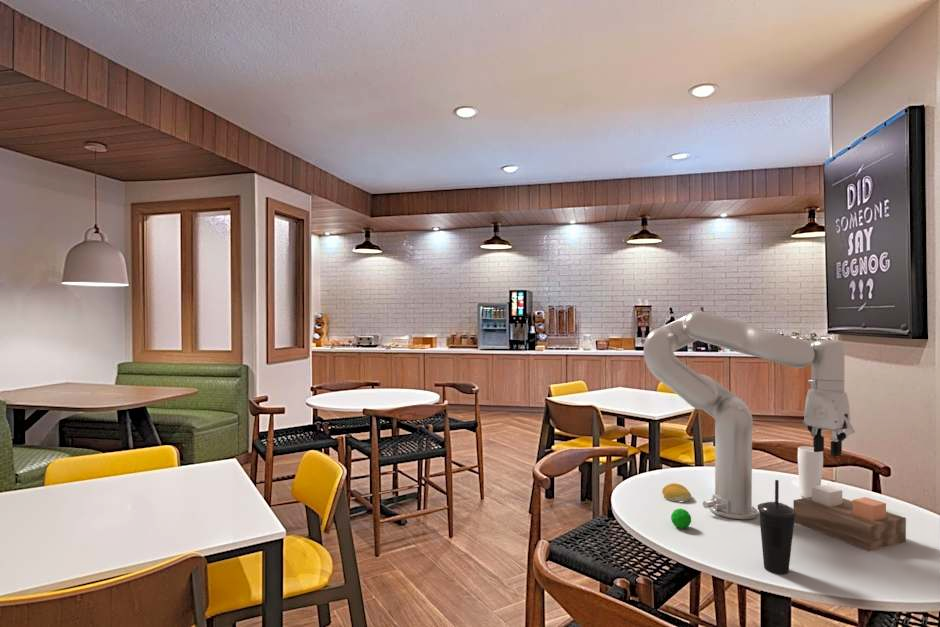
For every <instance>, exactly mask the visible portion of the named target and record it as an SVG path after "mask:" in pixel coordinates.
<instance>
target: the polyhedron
mask: <svg viewBox="0 0 940 627" xmlns="http://www.w3.org/2000/svg"><path fill="white" fill-rule="evenodd" d="M670 520H671V523H672V524H673V526H675V527H676V528H678V527H679V528H678V529H680V528H683V529H686V528H687V529H688V527H690V525H691V522H692V517H691V514H690V513H689V512H688V510H686V509H684V508H676V509H674V510H673V511H672V513H671V516H670Z"/></svg>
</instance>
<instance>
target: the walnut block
mask: <svg viewBox="0 0 940 627" xmlns="http://www.w3.org/2000/svg"><path fill="white" fill-rule="evenodd" d="M792 508H793V509H795V510H796V515H795V519H794V524H795V523H796V525H797V524H798V525H800V526H803V527H805V528H808V529H811V530H813V531H816V532H819V533H821V534H823V535H826V536H828V537H831V538H834V539H837V540H839V541H842V542H845V543H847V544H849V545H853V546H855V547H858V548H860V549H863V550H865V551H868V552H871V551H876V550H880V549H883V548H886V547H891V546H895V545H899V544H902V543H906V541H907V537H906V536H907V518H906V517H904V516H901V515H898V514H895V513H891V512H888V511H886V519H883V520H878V521H871V520H868V519H865V518H862V517H859V516H856V515H853V500H850V499H846V498H844V497H842V505H837V506H832V507H829V506H826V505H823V504H820V503H817V502H814V501H812V497H807V498H803V497H802V498H798V499H793V506H792Z"/></svg>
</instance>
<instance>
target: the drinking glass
mask: <svg viewBox="0 0 940 627" xmlns="http://www.w3.org/2000/svg"><path fill="white" fill-rule="evenodd" d="M797 468H798V480H799V483H798V484H799V496H801V497H802V498H807V497H812V487H815V486H821V485H822V478H823V477H822V476H823V471H824V451H821V452H814V447H813V446H806V445H805V446H803V445H801V446H798V447H797Z"/></svg>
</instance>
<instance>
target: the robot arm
mask: <svg viewBox="0 0 940 627" xmlns="http://www.w3.org/2000/svg"><path fill="white" fill-rule="evenodd" d="M697 341H699V342H701V343H705V344H709V345H713V346H716V347H721V348H723V349H726V350H730V351H734V352H737V353H740V354H743V355H746V356H747V355H749V356H753V357H756V358H760V359H762V360H766V361H771V362H773V363H777V364H780V365H784V366H787V367H791V368H795V369H803V368H806V367H808V366H810V365H811V379H808V381H807V382H808V384H809V385H810V387H811V388H809V389H808V390H807V394H806V397H805V403H804V404H805V406H804V418H803V419H802V421H801V423H802V425H803V426H805V427H806V429H807V430H808V432H810V435H811V437H812V438H813V441H812V442H813V444H812V445H813V446H812V447H814V452H821V451H823V452H824V450H825V437H824V436H823V431H824V430H828V431H831V436H832V439H833V440H832V441H830V455H831V457H840V456H841V455H842V451H843V449H842V448H843V445H842V444H843V443H842V442H843V441H845V439H846V438H847V437H849V436H851V435H854V434H855V433H856V430H855V429H854V427H853V425H852V424H851V411H850V404H849V403H850V402H849V398H848V393H847V392H845V370H846V369H845V357H846V356H845V351H846V350H845V348H846V347H845V346H846V345H845V344H844V342H843V341H841V340H836V339H835V340H834V339H833V340H832V339H817V340H810V339H802V338H794V337H789V336H786V335H783V334H779V333H775V332H772V331H768V330H765V329H762V328H760V327H757V326H756V325H753V324H749V323H747V322H743V321H740V320H736V319H732V318H728V317H725V316H720V315H718V314H712V313H709V312H707V311H703V310H694V311H691V312H689V313H687V314H686V315H683V316H682V317H680V318H677V319H675V320H674V321H672V322H668V323H667V324H664V325H663V326H661V327H660V326H659V327H658V328H655V329H653V330H651V331H650V332H649V333H648V335H647V336H646V338H645V341H644V345H643V358H644V359H643V360H644V362H645V365H646V367H647V369H648V370H649V373H651V374H652V375H653V376H654V377H655V378H656V379H657V380H658V381H659V382H661V383H662V384H663V385H664V386H666V387H667V388H669V389H670V391H672V392H673V393H675V394H676V395H677V396H678V397H680V398H681V399H682V400H684V401H685V402H686V403H687V404H688V405H689V406H690V407H692V408H694V409H696V410H700V411H704V412H705V413H706V414H708V415H709V416H711V417H712V419H714V436H715V437H714V465H715V466H714V470H715V473H714V476H715V477H714V478H715V480H714V484H715V485H714V494H712V498H711V499H710V500H704V501H703V502H702V507H703V508H704V509H709V510H710V512H711V513H713V514H716V515H718V516H719V517H724V518H728V519H734V520H753V519H754V518H756V517H758V515H759V510H758V508H757V507H754V506H752V500H753V498H752V497H753V496H752V495H753V493H752V492H753V490H752V489H753V488H752V487H753V485H752V484H753V482H752V481H753V456H752V455H753V453H752V452H753V434H754V433H753V430H754V426H753V425H754V420H753V416H752V415H753V414H752V413H751V410H750V408H749V406H748V404H747V403H746V402H745V401H744V400H742V399H741V398H739V396H737V395H736V394H734V393H733V392H732V391H730V390H729V389H728V388H726V387H725V386H723V385H722V384H721V383H720V382H718V381H717V380H715V379H714V378H712V377H711V376H709V375H705V374H699V373H698V372H696V371H695V370H694V369H692V368H691V367H690V366H688V365H687V364H686V363H685V362H683V361H681V360H680V359H679V358H678V357H677V356H676V355H675V351H678V350H680V349H682V348H684V347H687V346H688V345H690V344H694V343H695V342H697ZM844 430H845V431H844Z"/></svg>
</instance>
